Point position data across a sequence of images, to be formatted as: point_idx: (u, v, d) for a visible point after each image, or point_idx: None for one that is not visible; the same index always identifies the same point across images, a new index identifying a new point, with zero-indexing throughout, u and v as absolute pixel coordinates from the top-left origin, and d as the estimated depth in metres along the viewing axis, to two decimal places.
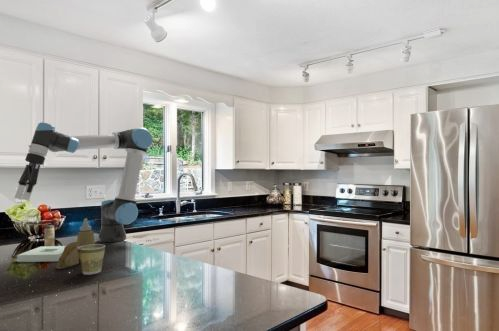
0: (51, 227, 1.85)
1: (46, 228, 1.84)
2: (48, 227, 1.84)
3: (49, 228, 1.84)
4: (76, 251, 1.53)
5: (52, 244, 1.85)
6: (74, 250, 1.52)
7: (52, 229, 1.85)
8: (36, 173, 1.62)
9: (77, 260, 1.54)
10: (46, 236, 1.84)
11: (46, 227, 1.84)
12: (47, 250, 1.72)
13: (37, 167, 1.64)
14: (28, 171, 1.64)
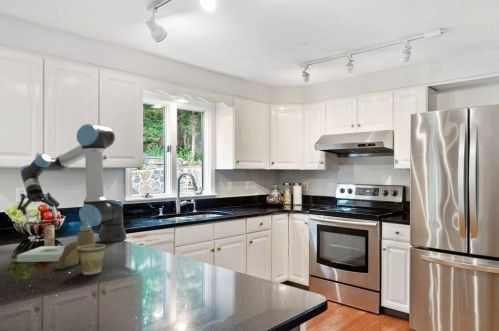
0: (50, 227, 1.85)
1: (46, 228, 1.84)
2: (48, 227, 1.84)
3: (49, 228, 1.84)
4: (76, 251, 1.53)
5: (52, 244, 1.85)
6: (74, 250, 1.52)
7: (52, 229, 1.85)
8: None
9: (77, 260, 1.54)
10: (46, 236, 1.84)
11: (46, 227, 1.84)
12: (47, 250, 1.72)
13: (21, 196, 1.95)
14: None
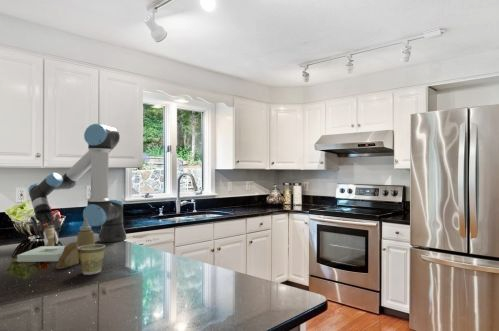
0: (51, 227, 1.85)
1: (46, 228, 1.84)
2: (48, 227, 1.84)
3: (49, 228, 1.84)
4: (76, 251, 1.53)
5: (52, 244, 1.85)
6: (74, 250, 1.52)
7: (52, 229, 1.85)
8: (33, 224, 1.85)
9: (77, 260, 1.54)
10: (46, 236, 1.84)
11: (46, 227, 1.84)
12: (47, 250, 1.72)
13: (31, 220, 1.87)
14: None
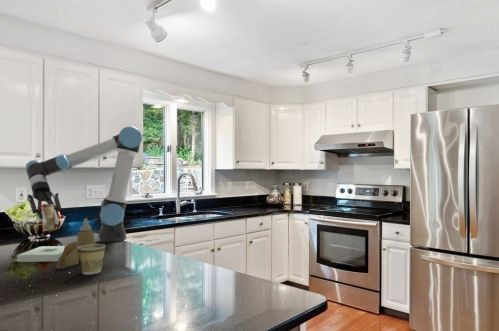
0: (50, 206, 1.68)
1: (45, 207, 1.67)
2: (47, 206, 1.67)
3: (48, 207, 1.68)
4: (76, 251, 1.53)
5: (51, 225, 1.69)
6: (74, 250, 1.52)
7: (51, 208, 1.69)
8: (31, 202, 1.69)
9: (77, 260, 1.54)
10: (45, 216, 1.67)
11: (45, 206, 1.67)
12: (47, 250, 1.72)
13: (29, 198, 1.70)
14: None
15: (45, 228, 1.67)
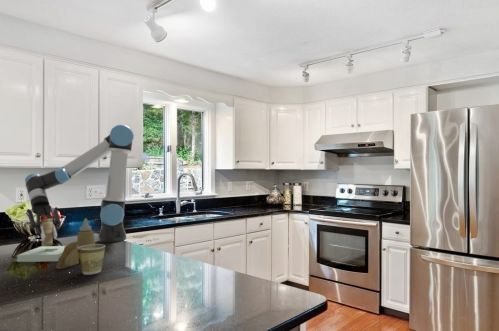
0: (49, 221, 1.68)
1: (44, 222, 1.67)
2: (46, 221, 1.67)
3: (46, 222, 1.67)
4: (76, 251, 1.53)
5: (50, 239, 1.68)
6: (74, 250, 1.52)
7: (50, 223, 1.68)
8: (30, 217, 1.68)
9: (77, 260, 1.54)
10: None
11: (44, 221, 1.67)
12: (47, 250, 1.72)
13: (28, 213, 1.70)
14: None
15: (44, 243, 1.67)
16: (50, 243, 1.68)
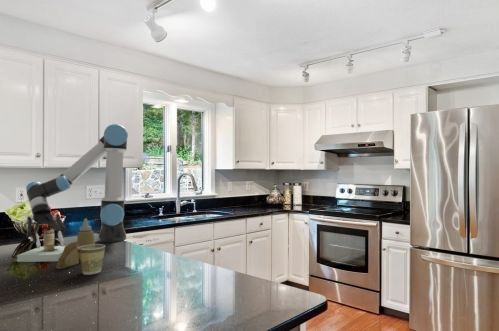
0: (50, 233, 1.68)
1: (45, 234, 1.67)
2: (47, 233, 1.67)
3: (48, 233, 1.67)
4: (76, 251, 1.53)
5: (52, 251, 1.68)
6: (74, 250, 1.52)
7: (52, 235, 1.69)
8: (28, 225, 1.68)
9: (77, 260, 1.54)
10: (45, 242, 1.67)
11: (45, 233, 1.67)
12: None
13: (27, 220, 1.70)
14: None
15: None
16: None
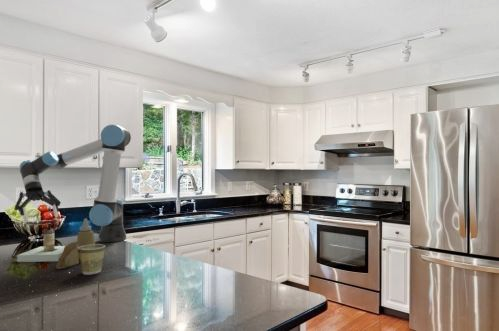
0: (50, 233, 1.68)
1: (45, 234, 1.67)
2: (47, 233, 1.67)
3: (48, 233, 1.67)
4: (76, 251, 1.53)
5: (52, 251, 1.68)
6: (74, 250, 1.52)
7: (52, 235, 1.69)
8: (18, 199, 1.78)
9: (77, 260, 1.54)
10: (45, 242, 1.67)
11: (45, 233, 1.67)
12: None
13: (19, 195, 1.80)
14: None
15: None
16: None
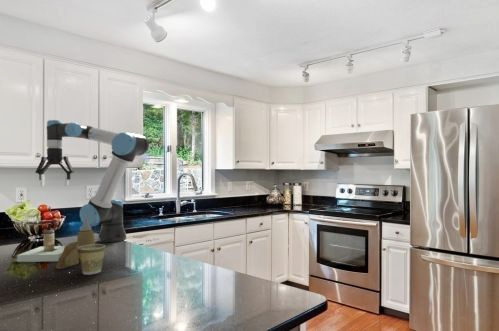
0: (50, 233, 1.68)
1: (45, 234, 1.67)
2: (47, 233, 1.67)
3: (48, 233, 1.67)
4: (76, 251, 1.53)
5: (52, 251, 1.68)
6: (74, 250, 1.52)
7: (52, 235, 1.69)
8: None
9: (77, 260, 1.54)
10: (45, 242, 1.67)
11: (45, 233, 1.67)
12: None
13: None
14: None
15: None
16: None
